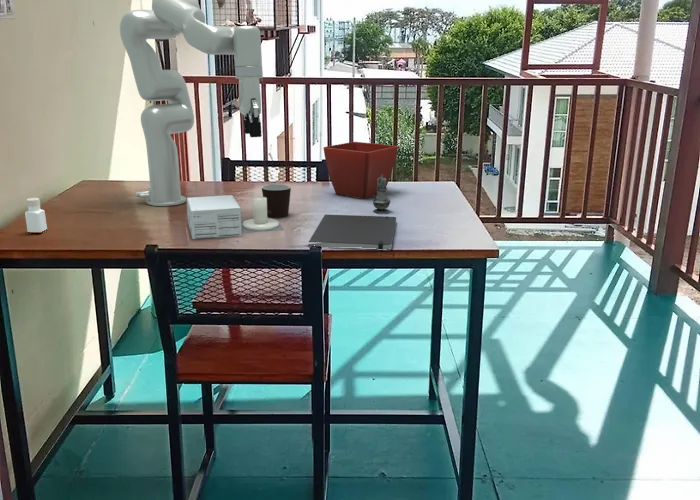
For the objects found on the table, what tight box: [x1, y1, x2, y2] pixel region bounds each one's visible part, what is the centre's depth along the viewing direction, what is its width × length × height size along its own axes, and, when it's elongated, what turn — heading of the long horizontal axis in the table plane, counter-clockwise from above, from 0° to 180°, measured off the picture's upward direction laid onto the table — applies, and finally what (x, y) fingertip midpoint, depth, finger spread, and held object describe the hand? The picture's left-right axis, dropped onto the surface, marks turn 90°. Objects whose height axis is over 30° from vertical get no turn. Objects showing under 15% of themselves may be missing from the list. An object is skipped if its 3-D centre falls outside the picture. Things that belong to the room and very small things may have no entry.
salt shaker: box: [24, 197, 48, 233], centre depth 178 cm, size 4×4×10 cm
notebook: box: [308, 214, 397, 249], centre depth 180 cm, size 22×2×28 cm
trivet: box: [241, 221, 285, 234], centre depth 182 cm, size 11×11×2 cm
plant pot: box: [322, 141, 398, 199], centre depth 225 cm, size 19×19×17 cm
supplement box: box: [186, 194, 243, 240], centre depth 177 cm, size 17×13×9 cm
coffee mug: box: [261, 183, 292, 219], centre depth 194 cm, size 12×9×10 cm
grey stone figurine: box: [371, 175, 391, 215], centre depth 202 cm, size 6×6×12 cm
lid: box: [242, 196, 280, 232], centre depth 180 cm, size 10×10×8 cm
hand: (252, 135), depth 184 cm, fingers open, 9 cm apart
